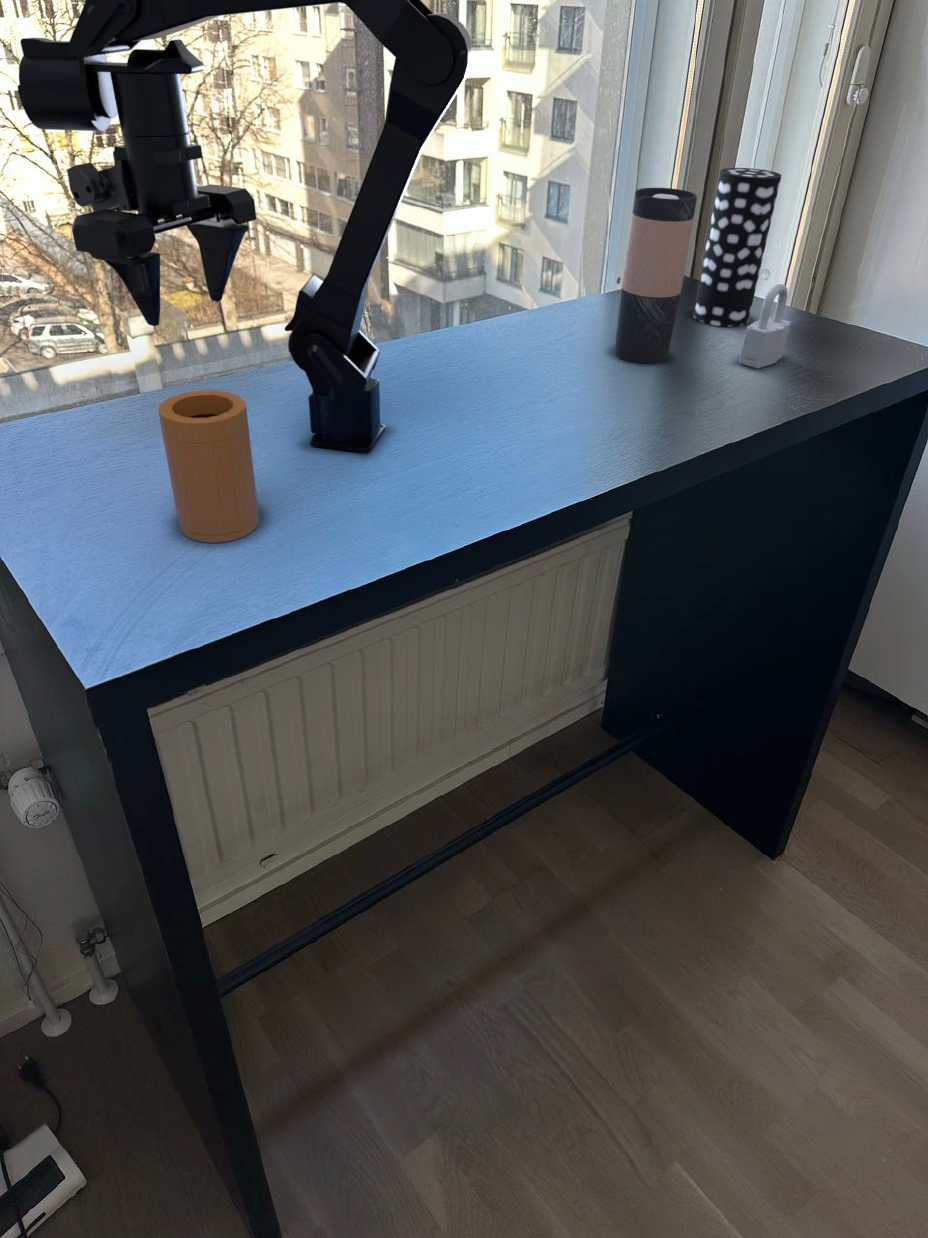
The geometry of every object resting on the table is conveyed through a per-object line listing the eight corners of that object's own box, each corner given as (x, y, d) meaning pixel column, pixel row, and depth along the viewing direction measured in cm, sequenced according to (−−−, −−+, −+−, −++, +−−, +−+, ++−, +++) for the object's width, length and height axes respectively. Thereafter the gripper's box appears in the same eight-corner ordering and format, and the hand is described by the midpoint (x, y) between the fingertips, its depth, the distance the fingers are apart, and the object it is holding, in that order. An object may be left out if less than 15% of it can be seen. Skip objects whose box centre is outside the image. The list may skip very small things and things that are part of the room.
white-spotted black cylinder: (752, 315, 134) (785, 171, 122) (742, 330, 127) (776, 180, 116) (699, 306, 136) (726, 165, 125) (687, 320, 130) (714, 173, 118)
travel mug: (677, 353, 118) (707, 192, 106) (656, 369, 113) (685, 202, 101) (626, 341, 121) (649, 184, 109) (602, 356, 116) (624, 193, 104)
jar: (270, 510, 79) (258, 395, 72) (239, 548, 73) (223, 427, 67) (202, 500, 80) (183, 385, 73) (165, 536, 75) (142, 416, 68)
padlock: (761, 370, 114) (780, 292, 108) (734, 362, 116) (751, 285, 110) (786, 358, 118) (806, 282, 112) (759, 351, 120) (777, 276, 114)
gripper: (158, 116, 86) (185, 279, 95) (3, 137, 72) (52, 325, 81) (249, 124, 82) (268, 293, 91) (103, 148, 68) (143, 344, 78)
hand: (186, 312), depth 85 cm, fingers open, 9 cm apart
